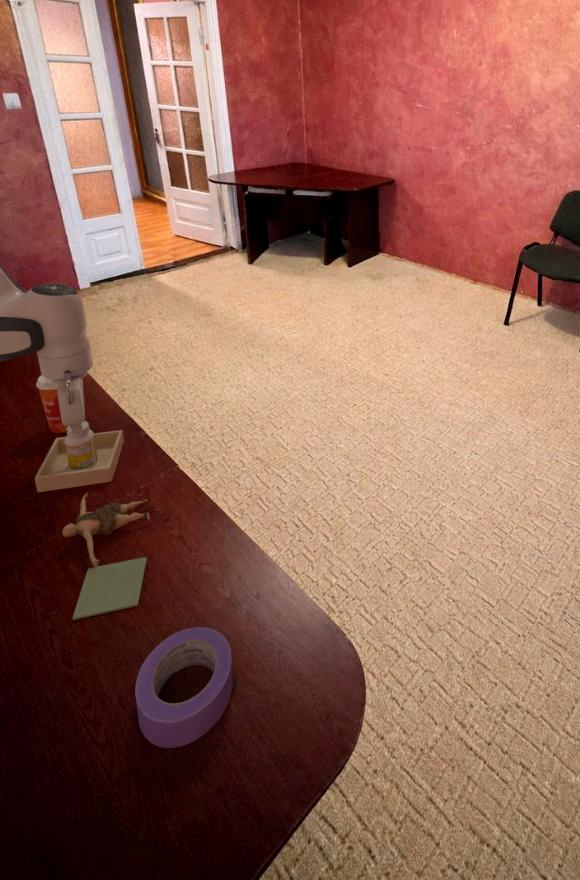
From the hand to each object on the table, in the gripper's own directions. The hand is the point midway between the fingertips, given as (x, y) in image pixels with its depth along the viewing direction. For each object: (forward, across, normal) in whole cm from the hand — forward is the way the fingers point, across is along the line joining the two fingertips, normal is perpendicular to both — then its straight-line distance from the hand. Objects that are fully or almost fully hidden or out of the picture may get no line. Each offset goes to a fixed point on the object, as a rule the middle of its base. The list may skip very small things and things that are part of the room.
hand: (77, 419), depth 101 cm
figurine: (+12, -22, -3) cm, 25 cm away
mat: (+12, -35, -3) cm, 37 cm away
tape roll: (+12, -58, -10) cm, 60 cm away
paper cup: (+12, +18, +4) cm, 22 cm away
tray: (+12, 0, 0) cm, 12 cm away
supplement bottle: (+12, 0, 0) cm, 12 cm away
